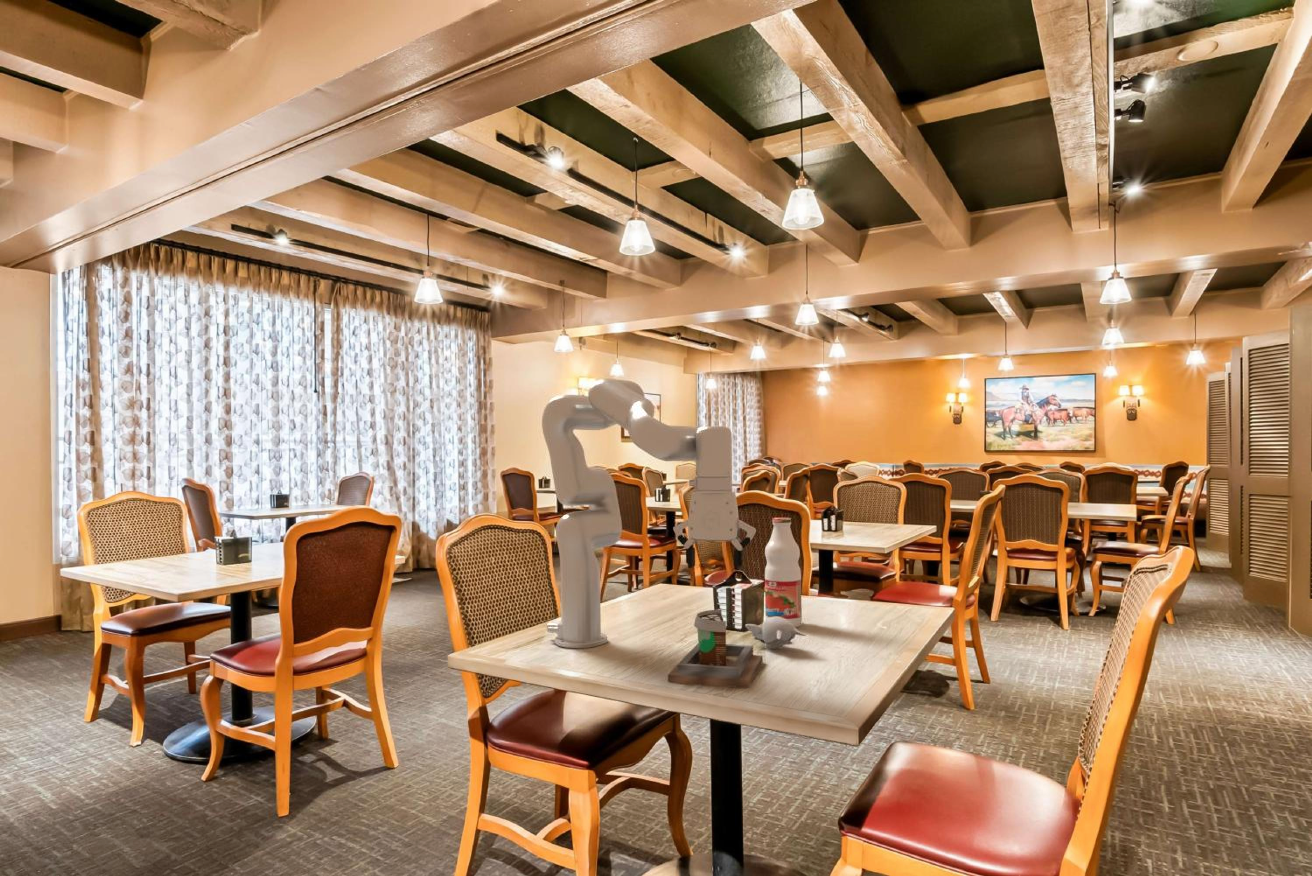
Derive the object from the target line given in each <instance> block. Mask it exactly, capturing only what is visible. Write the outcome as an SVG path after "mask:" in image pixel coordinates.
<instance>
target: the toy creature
mask: <svg viewBox="0 0 1312 876" xmlns="http://www.w3.org/2000/svg"><path fill="white" fill-rule="evenodd" d="M744 626H745V628H746V629H747V630H748V631H749V632H751V635H752V637H753V638H754V639H757V640H759V641H760V640H761V641H764V644H765V645H766V647H768V648H769V649H771V650H777V649H780V648H784V647H785V645H787V644H788V643H790V642H791V641H792V640H793V639H795V637H796V636H802V637H807V635H805V634H804V633H802V632H801V631H800V630H798V629H797V627H795V626H794V625H793V624H792V623H791V622H790V621H788V620H787V619H785V618H782V617H778V616H774V617H770V618H768V619H766V618H765V620H764V621H763V622H762V626H761V625H760V626H759V625H757V624H754V623H747V624H745V625H744Z"/></svg>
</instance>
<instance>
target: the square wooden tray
mask: <svg viewBox="0 0 1312 876" xmlns="http://www.w3.org/2000/svg"><path fill="white" fill-rule="evenodd" d="M762 664H763V655H758V654H754V646H753V645H750V644H749V645H745V644H730V643H726V666H714V665H701V664H700V654H699V642H698V643H697V644H696V645H695V646H693V648H692V649H691V650H690V651H689V652H688V653H687V654H685V656H684V657H683V658H682V659H681V660H680V661H679V662H678V663H677V664H676V665H675V666H674V667H673V668H672V669H671V670H670V671H669V672H668V674H667V683H675V682H677V684H687V685H689V684H690V685H700V686H701V685H702V686H703V685H704V686H716V687H727V688H728V687H729V688H740V689H741V688H742V689H749V688H750V686H751V684H752V682H753V681H754V679H755V677H756V675H757V674H758V671H759V670H760V668H761V666H762Z"/></svg>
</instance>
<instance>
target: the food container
mask: <svg viewBox="0 0 1312 876" xmlns="http://www.w3.org/2000/svg"><path fill="white" fill-rule="evenodd" d="M693 626H694V627H695V628H696V630H697V639H698V643H699V654H700V664H701V665H714V666H726V644H727V622H726V620H724V617H723V616H722V609H710V610H703V611H700V612H698V613H696V617H694V623H693Z"/></svg>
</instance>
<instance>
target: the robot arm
mask: <svg viewBox="0 0 1312 876" xmlns="http://www.w3.org/2000/svg"><path fill="white" fill-rule="evenodd" d="M654 416H655V407H654V404H653V403H652V401H651V400H649V399H648V398H646V396H645V393H644V390H643V388H642V387H641V386H640V385H639V384H638V383H636V382H635V381H631V380H627V379H626V380H625V379H615V378H601V379H599V380H597V381H595V382H594V383H593V384H592V385H591V386H590V387H589V389H588V392H587V395H581V394H579V395H578V394H562V395H558V396H555V397H553V398H551V399H550V400H549V401H548V403H547V404H546V405H545V407H544V409H543V413H542V417H541V429H542V435H543V437H544V440H545V444H546V446H547V450H548V453H549V457H550V460H549V461H550V467H551V472H552V473H551V474H552V477H553V484H554V491H555V495H556V498H557V501H558V502H559V503H560V504H562V505H563V506H567V507H582V506H588V509H586V510H579V511H578V510H576V511H571V512H568V513H566V514H564V515H563V516H562V517H561V518H559V519H558V522H557V523H556V527H555V537H556V542H557V547H558V553H559V563H560V565H559V567H560V617H561V619H560V622H559V623H555V622H553V623H552V622H548V623H547V625H546V631H547V633H549V634H550V633H552V634H553V633H554V634H556V635H557V636H556V637H555V638H554V643H555V645H557V646H558V647H562V648H568V649H587V648H594V647H599V646H602V645H604V644H606V643H607V642H608V636H607V634H605V633H603V632H602V630H601V628H602V627H601V625H602V624H601V621H602V620H601V568H600V564H599V560H598V559H597V557H596V553H595V552H594V550H595V549H601V548H607V547H612V546H613V545H615V544H617V543H618V541H619V540H620V538H621V536H622V531H623V523H622V516H621V511H620V504H619V498H618V494H617V488H616V484H615V481H614V479H613V477H612V475H611V474H610V472H608V471H607V470H606V469H604V468H602V467H597V466H595V467H594V466H591V467H590V466H589V467H588V465H587V461H586V456H585V450H584V448H583V445H582V443H581V442H580V440H579V438H578V437H577V436H576V434H575V433H574V431H575V430H579V431H581V430H582V431H601V430H606V429H608V428H611V427H613V426H615V425H618V426H620V428H623V429H624V430H625V431H627V433H628V436H629V438H630V439H631V441H632V443H633V444H634V445H635V446H636V447H637V448H639V449H641V450H642V451H644V452H645V453H647V455H650V456H652V457H653V458H655V459H657V460H660V461H663V462H694V461H695V477H694V478H693V479H689V481H688V486H689V487H693V488H694V490H695V491H693V492H691V494H690V500H689V501H690V502H689V508H688V519H686V520H684V521H682V522H680V523H679V524H677V525H675V526H673V527H672V529H673V531H674V533H675V536H676V538H677V540H678V541H679V542H680V544H681V545H683V547H684V549H685V563H686V564H687V565H688V566H687V567H688V569H692V568H694V567H695V566H696V548H695V547H694V544H695V543H696V542H697V541H699V542H731V544H732V545H733V546H734V548H735V550H734V551H733V566H734V567H733V570H735V571H739V570H740V569H741V567H742V566H743V565H744V549H745V548H746V547H747V546H748V545H749V544H750V543H751V542H752V540H753V538H754V536H755V534H756V532H757V530H756V528H755V527H753V526H752V525H750V524H748V523H746V522H744V521H742V520H741V519H739V517H740V516H739V508H738V507H739V506H738V500H737V495H736V492H734V491H733V445H732V444H733V442H732V441H733V437H732V435H733V434H732V430H731V429H730V428H729V426H728V427H727V426H724V425H722V426H721V425H718V426H717V425H711V426H710V425H708V426H706V425H705V426H701V427H699V426H687V425H668V424H666V423H664V422H662V421H660V420H658V419H656V418H654ZM686 528H687V536H688V538H687V536H686V535H684V533H683V530H684V529H686ZM740 529H741V530H743V531H745V532H746V535H745V537H744V539H743V540H741V539H740V538H739V536H740Z"/></svg>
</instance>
